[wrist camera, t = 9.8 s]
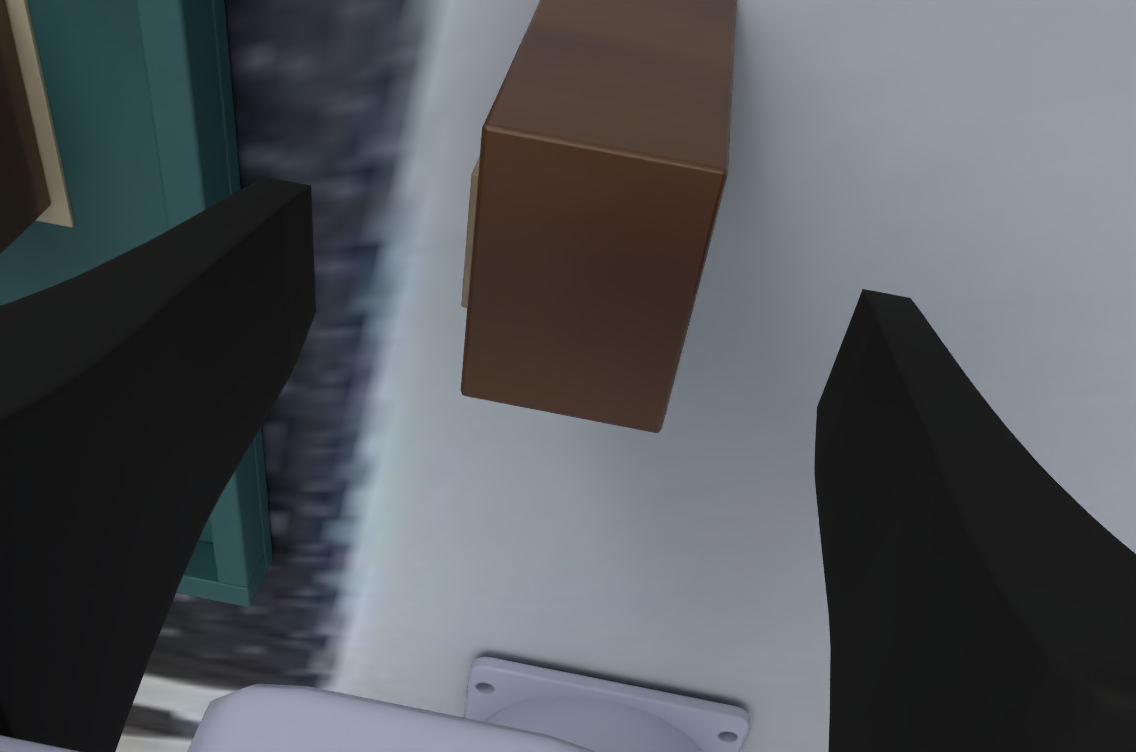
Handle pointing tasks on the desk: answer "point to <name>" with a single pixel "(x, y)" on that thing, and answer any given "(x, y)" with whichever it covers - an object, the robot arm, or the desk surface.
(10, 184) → the chocolate brown cuboid
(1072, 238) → the desk surface
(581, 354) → the brown rectangular block
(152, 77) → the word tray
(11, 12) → the cream flat panel
